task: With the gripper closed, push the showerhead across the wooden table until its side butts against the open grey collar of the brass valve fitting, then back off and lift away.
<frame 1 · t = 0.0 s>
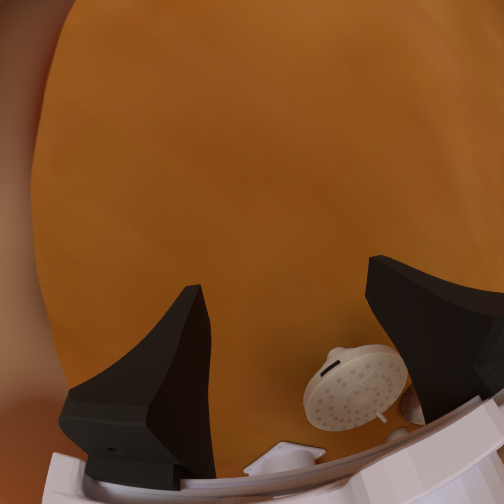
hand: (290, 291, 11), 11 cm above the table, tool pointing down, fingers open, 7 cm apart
showerhead: (337, 356, 26), on the table
valve fitting: (425, 392, 30), on the table
pvc coupling: (396, 435, 32), on the table
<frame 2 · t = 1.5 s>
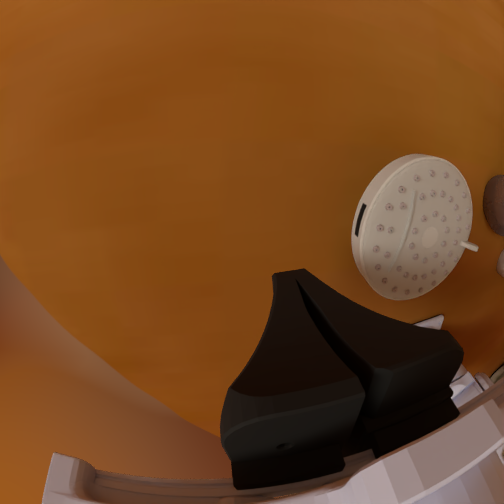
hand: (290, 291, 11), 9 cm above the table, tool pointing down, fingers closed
showerhead: (379, 204, 20), on the table
vase: (497, 372, 42), on the table
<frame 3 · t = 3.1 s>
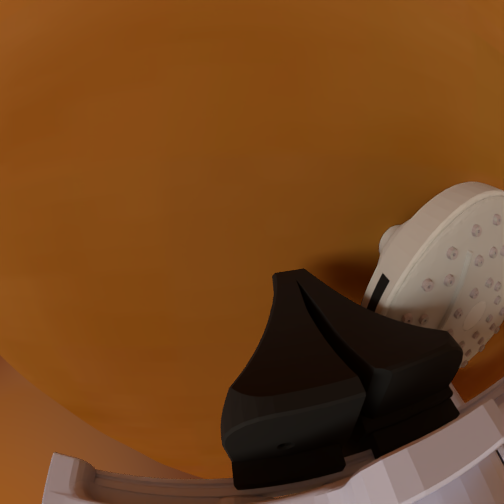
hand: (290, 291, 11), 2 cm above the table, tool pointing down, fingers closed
showerhead: (397, 242, 14), on the table, touching gripper
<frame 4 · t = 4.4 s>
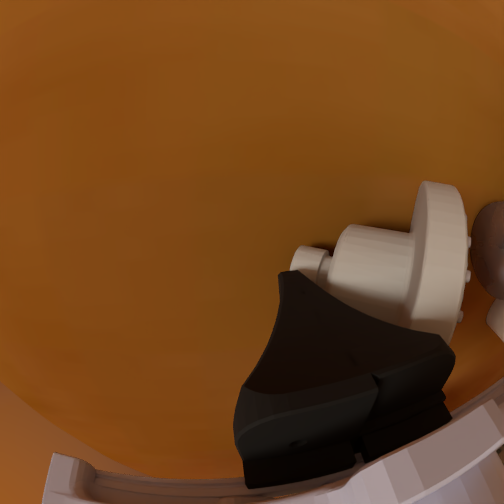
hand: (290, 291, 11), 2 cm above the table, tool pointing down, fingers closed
showerhead: (296, 265, 13), point 1 cm above the table, touching gripper
pvc coupling: (499, 306, 18), on the table
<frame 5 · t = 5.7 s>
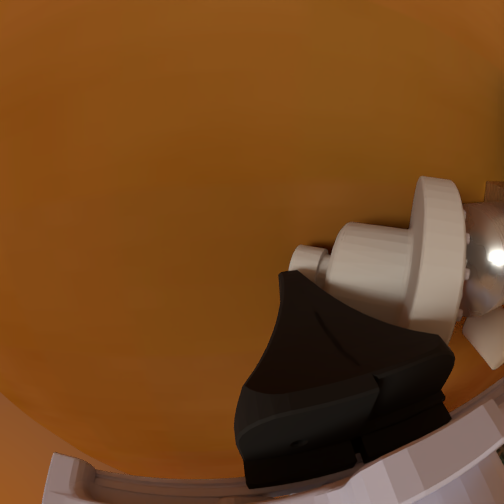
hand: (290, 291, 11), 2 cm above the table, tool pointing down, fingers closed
showerhead: (295, 265, 13), point 1 cm above the table, touching gripper, valve fitting
valve fitting: (480, 230, 14), on the table
pvc coupling: (478, 316, 18), on the table
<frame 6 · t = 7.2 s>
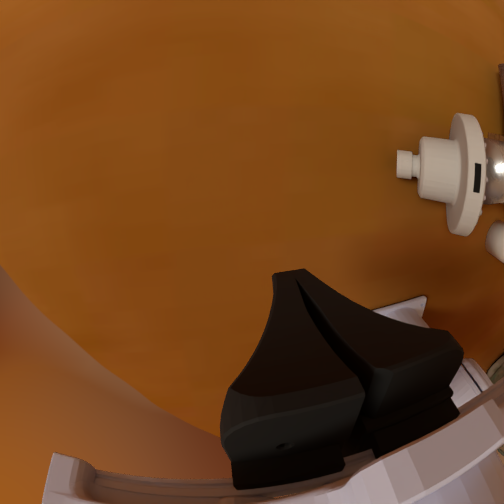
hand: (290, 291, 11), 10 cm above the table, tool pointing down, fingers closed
showerhead: (394, 163, 19), point 1 cm above the table
valve fitting: (487, 164, 20), on the table
pvc coupling: (494, 236, 24), on the table
vase: (496, 364, 41), on the table
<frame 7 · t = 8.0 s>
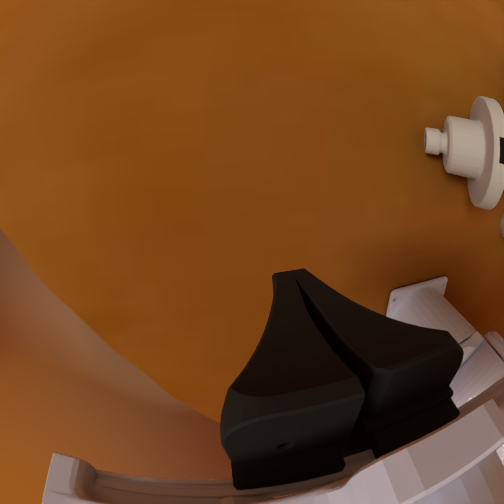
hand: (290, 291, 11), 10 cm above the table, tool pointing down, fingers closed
showerhead: (423, 139, 18), point 1 cm above the table
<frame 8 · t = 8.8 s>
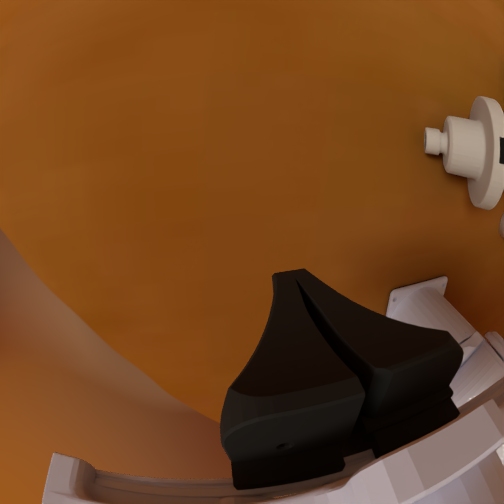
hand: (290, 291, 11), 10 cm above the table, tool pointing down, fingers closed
showerhead: (423, 139, 18), point 1 cm above the table
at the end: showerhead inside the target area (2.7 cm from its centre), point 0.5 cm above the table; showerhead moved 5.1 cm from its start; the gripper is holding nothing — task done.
